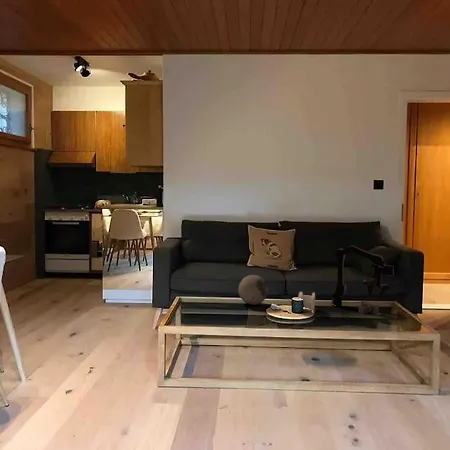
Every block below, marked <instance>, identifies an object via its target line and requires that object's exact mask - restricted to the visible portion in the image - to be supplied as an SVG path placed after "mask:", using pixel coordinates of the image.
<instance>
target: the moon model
mask: <svg viewBox="0 0 450 450" xmlns="http://www.w3.org/2000/svg"><path fill="white" fill-rule="evenodd" d="M267 283H268V282H267V281H266V280H265V278H263V277H262V276H260V275H259V274H258V275H256V274H250V275H247V276H245V277H243V278H242V280H241V281H240V283H239V284H238V285H239V286H238V294H239V297H240V299H241V300H242V301H243V302H244V303H246V304H247V305H251V306H255V305H260V304H261V303H263V302H264V301H265V300H266V299H267V297H268V294H269V286H268V284H267Z"/></svg>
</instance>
